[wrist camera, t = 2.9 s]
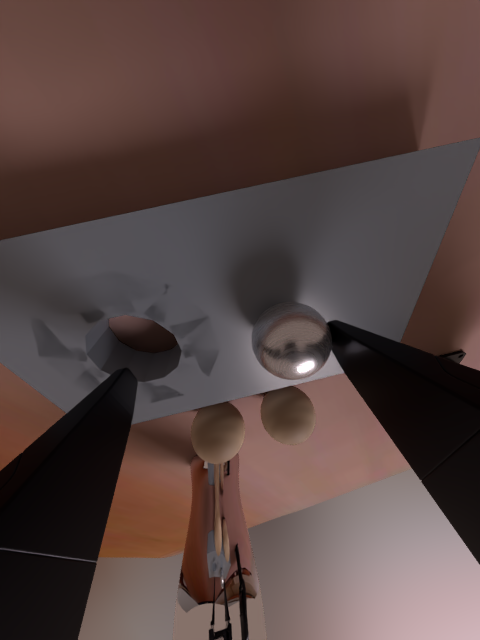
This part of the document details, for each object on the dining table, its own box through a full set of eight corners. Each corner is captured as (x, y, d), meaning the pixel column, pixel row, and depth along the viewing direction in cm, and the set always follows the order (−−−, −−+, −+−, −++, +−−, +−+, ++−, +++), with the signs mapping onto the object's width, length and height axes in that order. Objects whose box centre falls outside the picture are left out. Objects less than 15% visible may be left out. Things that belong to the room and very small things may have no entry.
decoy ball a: (301, 369, 16) (329, 419, 13) (301, 398, 19) (324, 447, 15) (252, 381, 16) (265, 434, 12) (258, 409, 19) (271, 460, 15)
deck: (419, 152, 9) (484, 136, 7) (367, 339, 16) (392, 361, 13) (-42, 250, 8) (-125, 267, 6) (109, 401, 15) (93, 433, 13)
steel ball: (318, 283, 9) (355, 327, 6) (314, 339, 11) (341, 392, 8) (245, 294, 9) (246, 341, 6) (254, 346, 11) (258, 400, 8)
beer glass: (174, 462, 22) (131, 796, 10) (221, 439, 21) (242, 791, 8) (209, 475, 26) (211, 731, 13) (251, 456, 25) (297, 720, 12)
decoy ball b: (235, 385, 16) (244, 440, 12) (244, 412, 19) (253, 465, 15) (185, 397, 16) (179, 456, 12) (200, 423, 19) (199, 479, 15)
